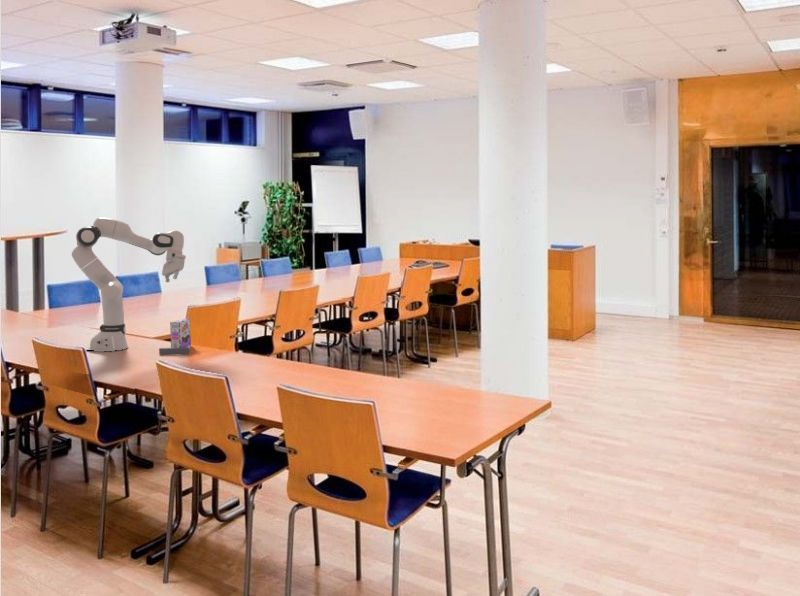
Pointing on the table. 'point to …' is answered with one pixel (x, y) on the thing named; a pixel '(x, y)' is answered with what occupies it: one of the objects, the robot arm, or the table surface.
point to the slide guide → (175, 350)
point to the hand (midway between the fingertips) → (171, 280)
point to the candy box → (180, 333)
